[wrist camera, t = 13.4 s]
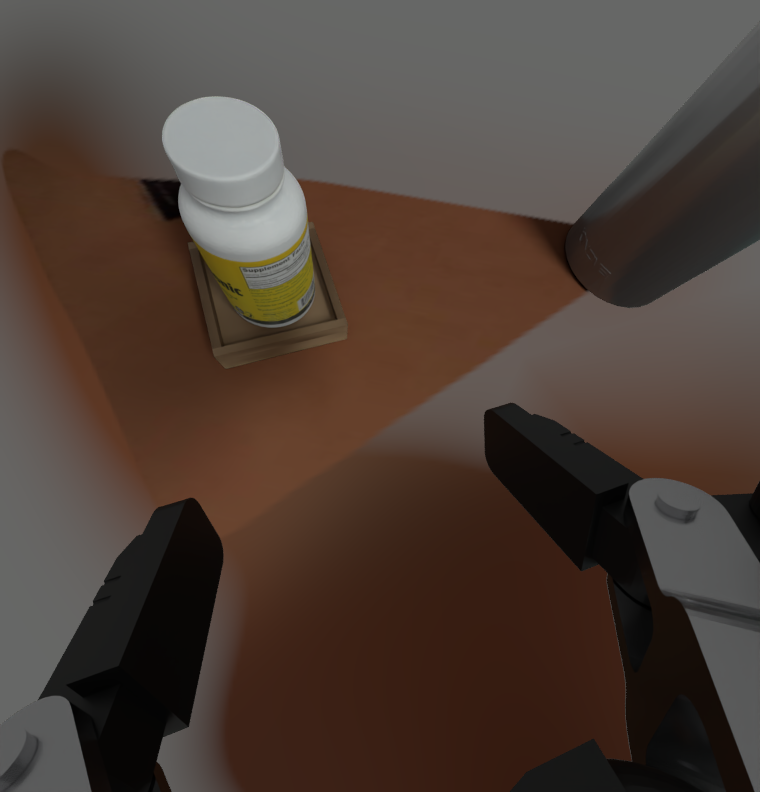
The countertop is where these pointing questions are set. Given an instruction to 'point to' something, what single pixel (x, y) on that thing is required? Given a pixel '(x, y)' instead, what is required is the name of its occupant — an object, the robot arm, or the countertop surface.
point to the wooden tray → (254, 343)
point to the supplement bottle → (242, 207)
